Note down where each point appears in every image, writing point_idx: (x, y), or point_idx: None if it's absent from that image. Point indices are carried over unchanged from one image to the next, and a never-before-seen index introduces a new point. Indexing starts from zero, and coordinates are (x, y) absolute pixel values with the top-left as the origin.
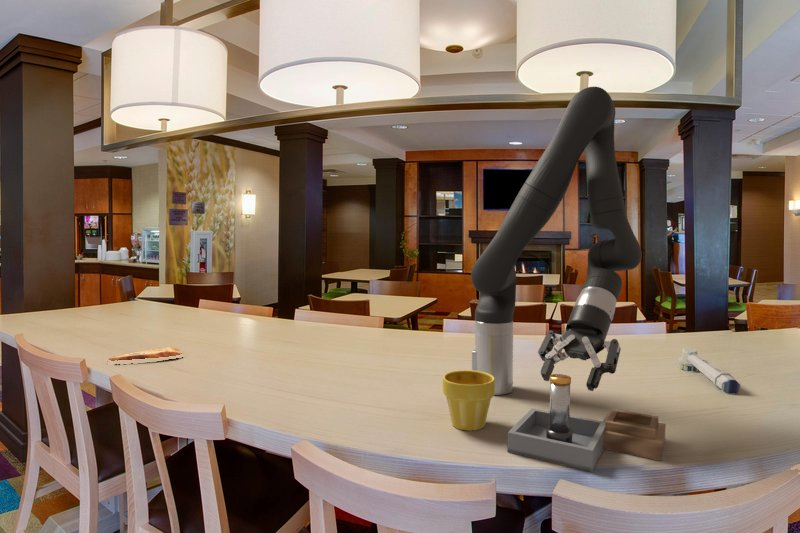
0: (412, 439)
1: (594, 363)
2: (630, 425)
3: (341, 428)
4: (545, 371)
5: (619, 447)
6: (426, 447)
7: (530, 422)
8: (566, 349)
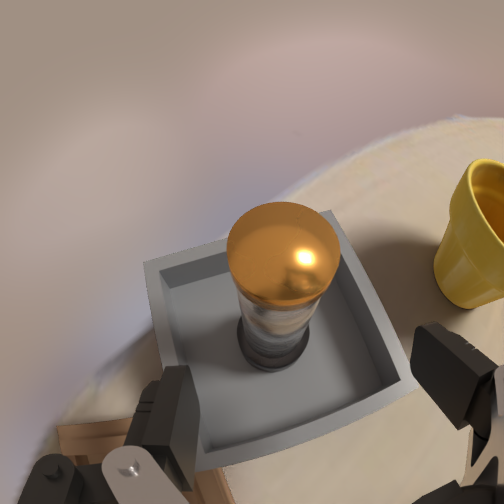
0: (432, 172)
1: (152, 471)
2: (110, 445)
3: (480, 147)
4: (434, 332)
5: None
6: (401, 166)
7: (374, 341)
8: (478, 488)
